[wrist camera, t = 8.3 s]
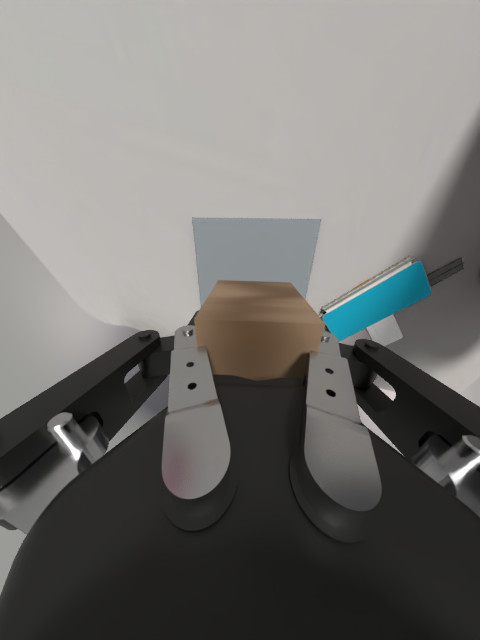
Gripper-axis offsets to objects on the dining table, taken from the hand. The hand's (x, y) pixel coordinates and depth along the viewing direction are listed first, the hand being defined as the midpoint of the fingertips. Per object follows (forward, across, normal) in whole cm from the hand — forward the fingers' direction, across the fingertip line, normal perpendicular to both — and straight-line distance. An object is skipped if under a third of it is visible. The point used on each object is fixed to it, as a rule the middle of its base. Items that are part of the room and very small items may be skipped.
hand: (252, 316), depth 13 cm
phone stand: (+11, -17, +4) cm, 21 cm away
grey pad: (+11, 0, 0) cm, 11 cm away
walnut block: (0, 0, 0) cm, 0 cm away
